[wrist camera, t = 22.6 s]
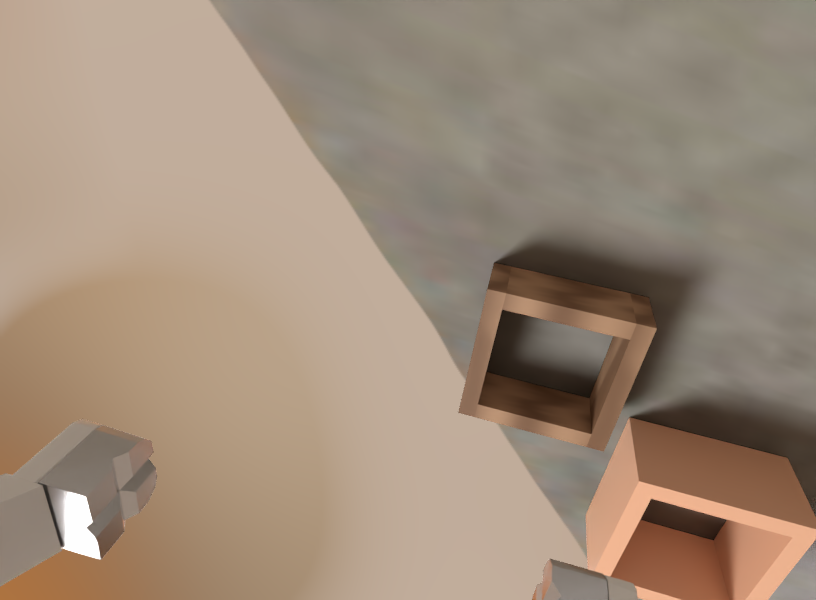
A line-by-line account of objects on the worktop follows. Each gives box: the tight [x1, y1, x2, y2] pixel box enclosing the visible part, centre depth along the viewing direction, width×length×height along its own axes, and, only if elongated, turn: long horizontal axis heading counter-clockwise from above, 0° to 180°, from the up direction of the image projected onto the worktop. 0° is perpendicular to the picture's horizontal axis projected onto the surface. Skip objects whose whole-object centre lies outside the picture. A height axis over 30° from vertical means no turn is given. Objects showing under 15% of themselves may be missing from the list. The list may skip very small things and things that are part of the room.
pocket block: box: [459, 263, 657, 451], centre depth 48 cm, size 13×13×5 cm
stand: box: [586, 417, 816, 600], centre depth 51 cm, size 14×14×8 cm
